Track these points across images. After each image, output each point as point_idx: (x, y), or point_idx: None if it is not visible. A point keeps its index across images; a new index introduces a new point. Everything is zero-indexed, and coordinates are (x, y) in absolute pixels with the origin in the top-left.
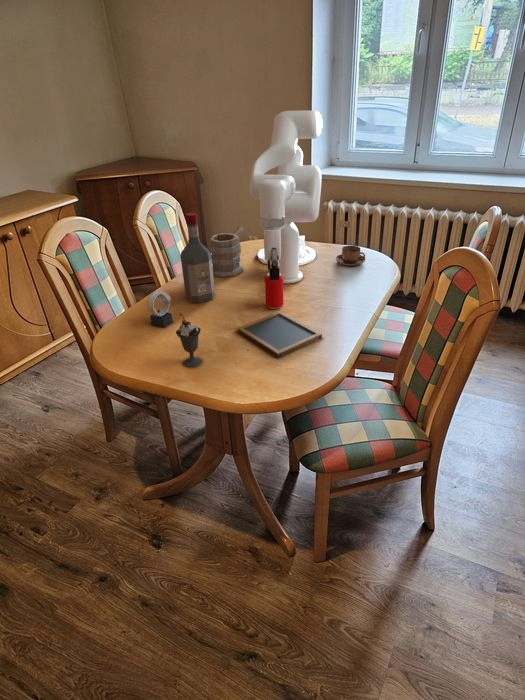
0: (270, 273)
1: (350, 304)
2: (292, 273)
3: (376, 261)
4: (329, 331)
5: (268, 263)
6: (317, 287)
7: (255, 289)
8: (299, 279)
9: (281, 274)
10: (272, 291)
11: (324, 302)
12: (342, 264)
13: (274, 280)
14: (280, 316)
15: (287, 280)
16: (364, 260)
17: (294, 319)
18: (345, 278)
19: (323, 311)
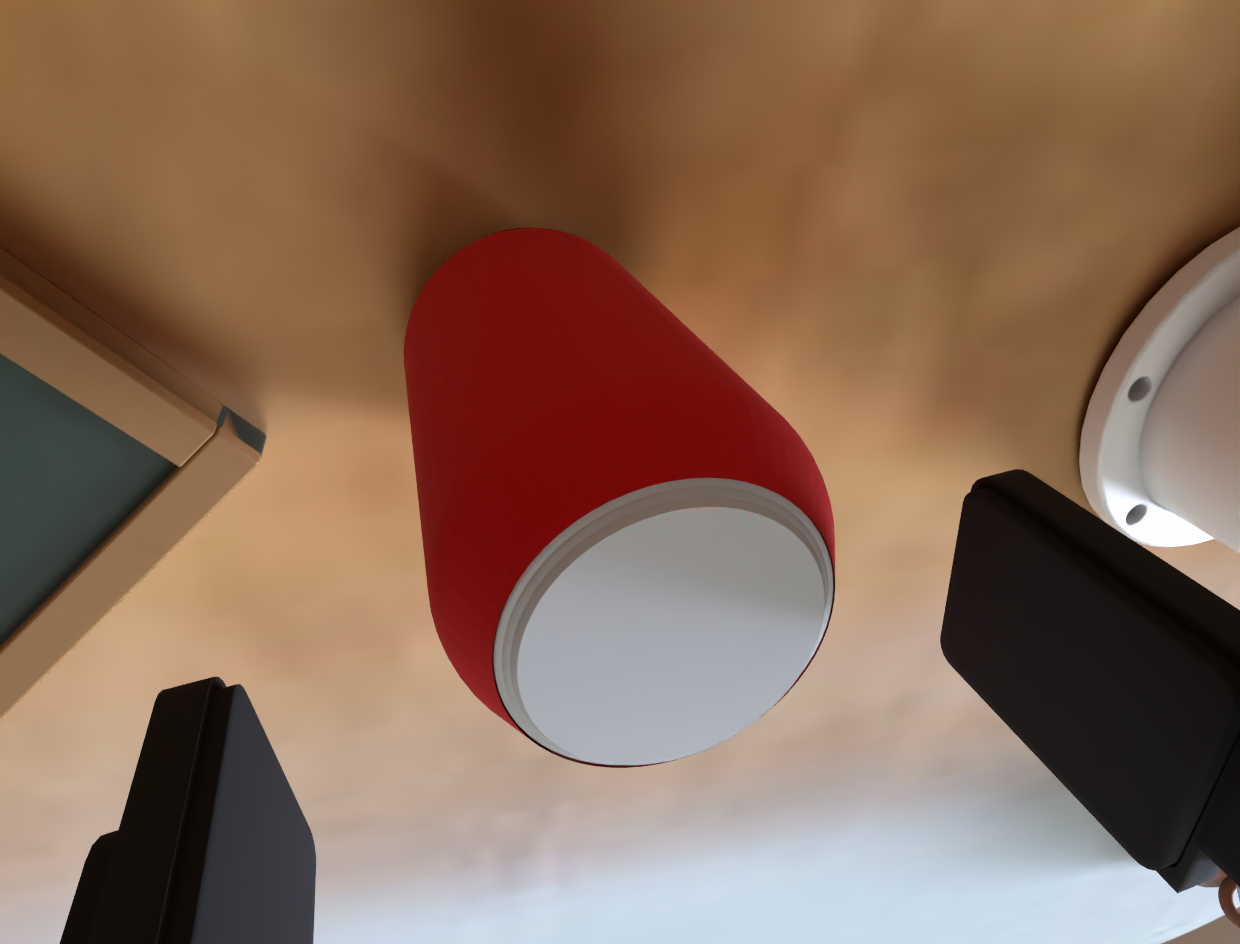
0: (129, 892)
1: (585, 920)
2: (1193, 501)
3: (1195, 896)
4: (4, 917)
5: (1089, 582)
6: (929, 672)
7: (1066, 11)
8: (1112, 526)
9: (1230, 381)
10: (415, 467)
11: (626, 771)
12: None
13: (450, 645)
14: (122, 486)
15: (1121, 426)
16: (1213, 879)
17: (44, 667)
18: (1026, 808)
19: (439, 798)
